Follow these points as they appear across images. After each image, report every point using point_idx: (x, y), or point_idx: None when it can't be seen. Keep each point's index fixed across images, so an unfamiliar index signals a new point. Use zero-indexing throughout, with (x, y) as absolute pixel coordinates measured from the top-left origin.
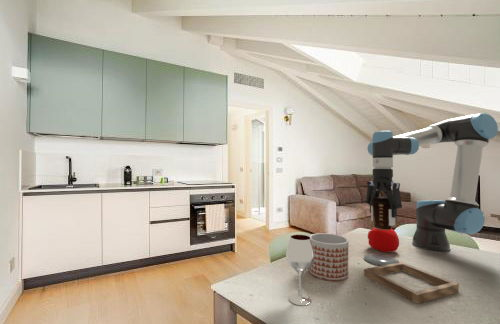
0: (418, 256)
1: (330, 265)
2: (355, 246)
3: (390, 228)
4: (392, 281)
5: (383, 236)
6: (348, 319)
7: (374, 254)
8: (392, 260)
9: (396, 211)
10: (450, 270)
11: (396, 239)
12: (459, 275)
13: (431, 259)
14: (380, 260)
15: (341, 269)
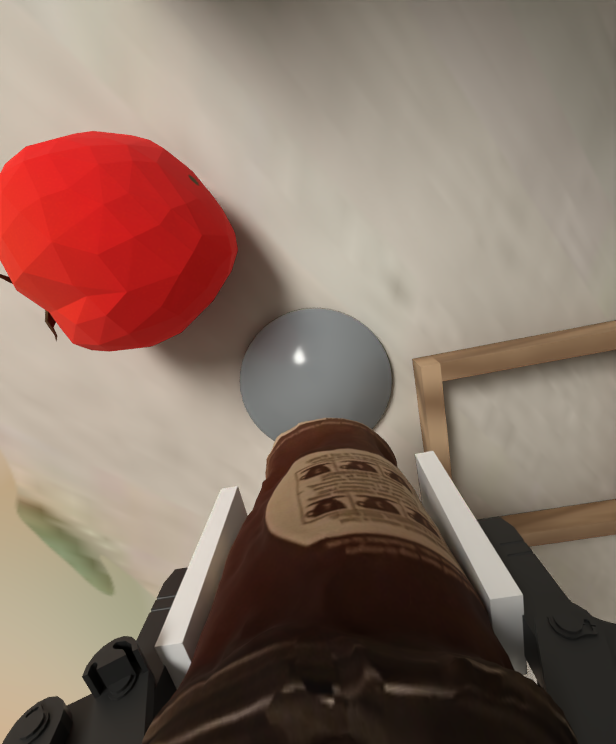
0: (282, 108)
1: None
2: (102, 374)
3: (395, 458)
4: (560, 535)
5: (188, 310)
6: None
7: (248, 371)
8: (336, 340)
9: (554, 586)
10: (493, 113)
11: (210, 214)
12: (551, 130)
13: (338, 63)
14: (327, 397)
15: None
